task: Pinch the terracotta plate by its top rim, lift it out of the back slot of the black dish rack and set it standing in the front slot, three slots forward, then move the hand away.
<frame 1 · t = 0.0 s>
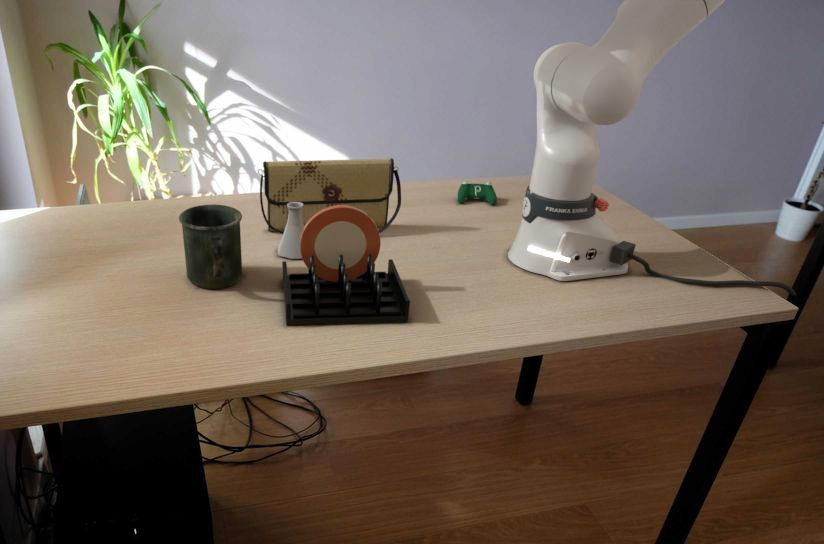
flask: (295, 253, 132), on the table
mug: (216, 282, 120), on the table
rack: (342, 300, 115), on the table
clutch purse: (330, 233, 141), on the table
plate: (340, 244, 115), point 8 cm above the table, touching rack
gaming controller: (475, 201, 159), on the table
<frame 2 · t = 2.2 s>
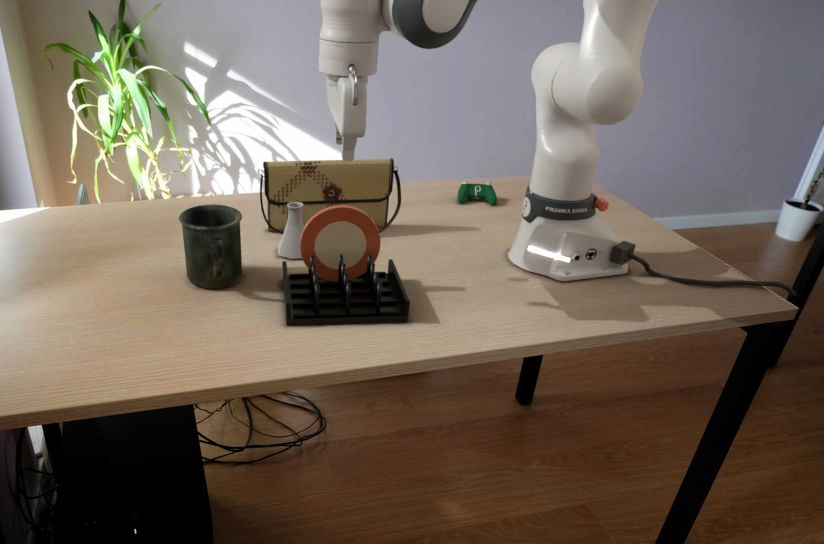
hand: (343, 151, 107), 24 cm above the table, tool pointing down, fingers open, 8 cm apart
nothing on the table moved.
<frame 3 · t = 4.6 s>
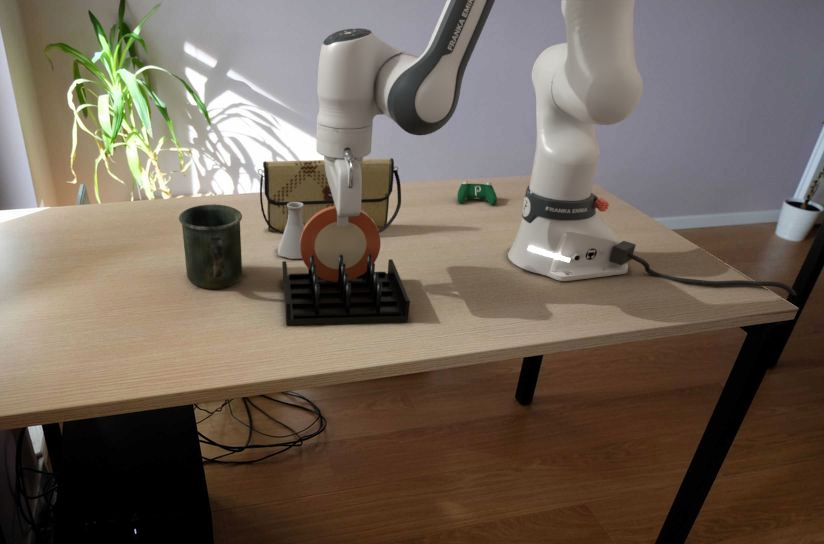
hand: (341, 222, 113), 12 cm above the table, tool pointing down, fingers closed on plate, 1 cm apart
plate: (340, 244, 115), point 8 cm above the table, touching gripper, rack
everything else where it was.
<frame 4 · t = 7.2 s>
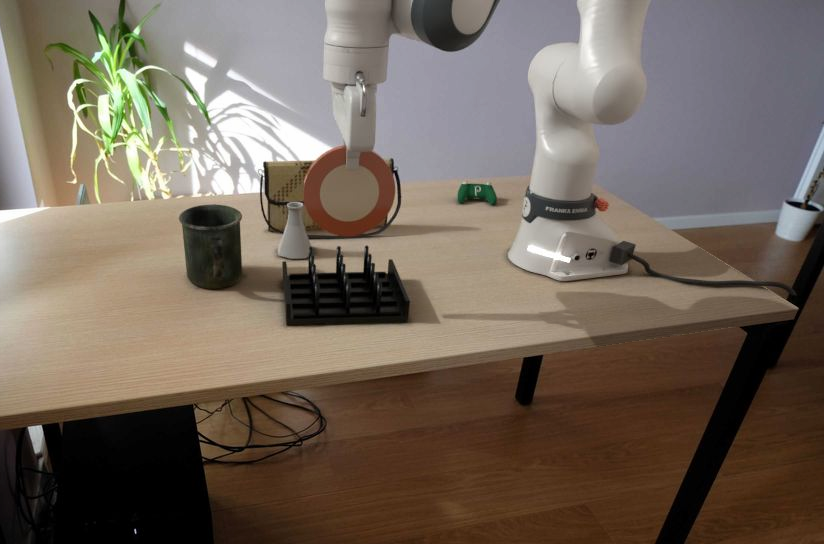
hand: (350, 165, 98), 25 cm above the table, tool pointing down, fingers closed on plate
plate: (349, 192, 100), point 21 cm above the table, touching gripper
everything else where it was.
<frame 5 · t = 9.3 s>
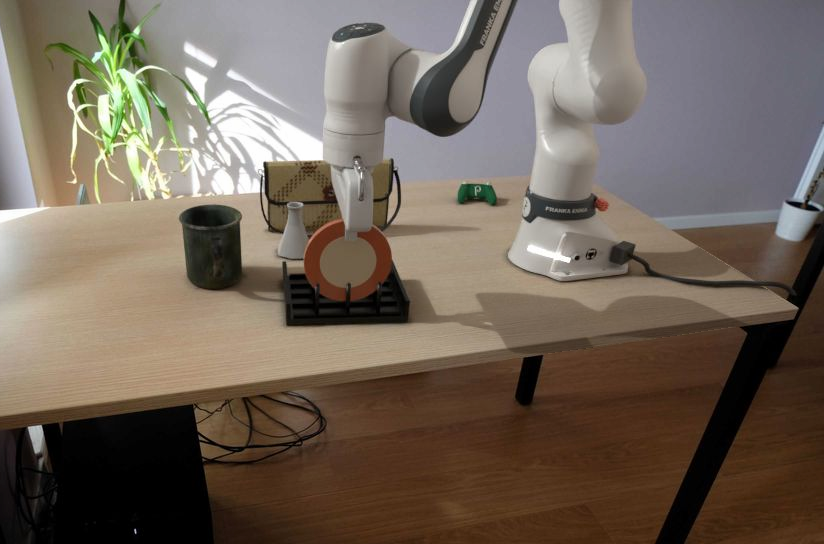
hand: (349, 236, 103), 14 cm above the table, tool pointing down, fingers closed on plate, 1 cm apart
plate: (347, 260, 105), point 10 cm above the table, touching gripper
everything else where it was.
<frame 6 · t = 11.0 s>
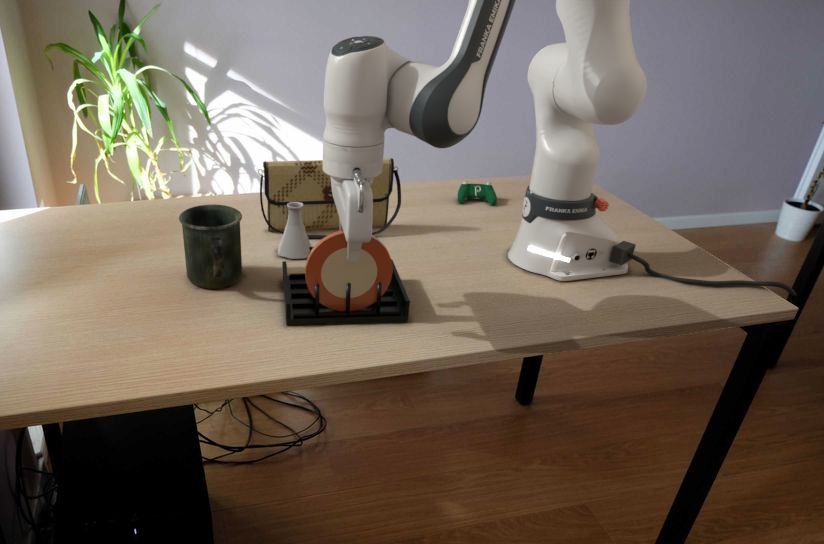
hand: (349, 246, 104), 13 cm above the table, tool pointing down, fingers open, 8 cm apart
plate: (348, 271, 106), point 8 cm above the table, touching rack
everything else where it was.
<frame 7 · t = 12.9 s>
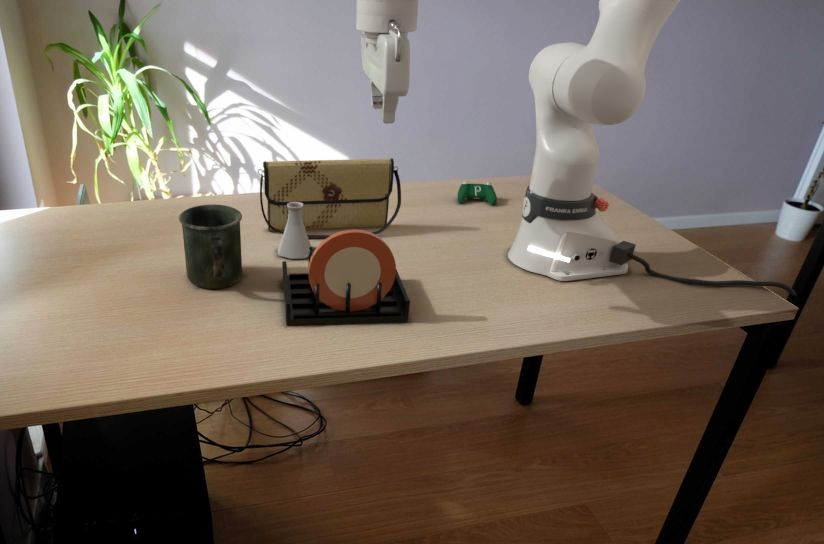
hand: (382, 114, 103), 30 cm above the table, tool pointing down, fingers open, 8 cm apart
nothing on the table moved.
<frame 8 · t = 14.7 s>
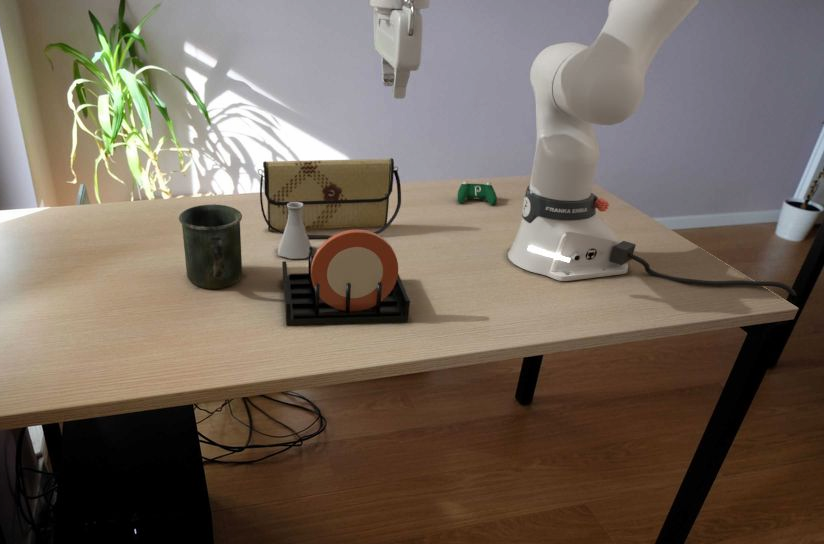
hand: (393, 91, 105), 33 cm above the table, tool pointing down, fingers open, 8 cm apart
nothing on the table moved.
at the end: plate 1.1 cm from the target spot on the rack, point 8.2 cm above the rack's base; the gripper is holding nothing; plate moved 10.9 cm from its start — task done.
